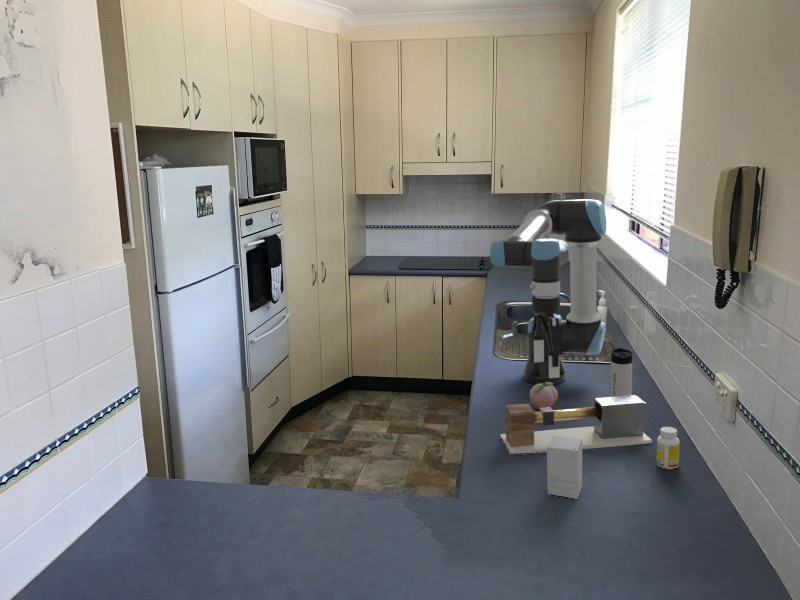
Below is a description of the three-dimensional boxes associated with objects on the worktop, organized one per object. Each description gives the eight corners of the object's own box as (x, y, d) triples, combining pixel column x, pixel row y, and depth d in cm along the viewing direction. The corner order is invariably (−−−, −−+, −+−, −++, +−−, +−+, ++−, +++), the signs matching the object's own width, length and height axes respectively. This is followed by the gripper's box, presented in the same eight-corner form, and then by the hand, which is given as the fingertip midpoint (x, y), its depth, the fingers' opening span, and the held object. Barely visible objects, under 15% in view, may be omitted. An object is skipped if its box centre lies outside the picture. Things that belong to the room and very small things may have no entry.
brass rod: (512, 423, 185) (511, 409, 184) (601, 415, 187) (601, 402, 186) (515, 428, 181) (515, 414, 181) (605, 420, 183) (606, 407, 183)
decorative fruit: (538, 403, 214) (538, 374, 212) (561, 408, 209) (561, 379, 207) (523, 412, 207) (523, 382, 205) (547, 418, 202) (546, 387, 200)
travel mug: (628, 407, 207) (629, 347, 203) (633, 416, 200) (634, 353, 196) (607, 408, 208) (608, 347, 203) (612, 416, 201) (613, 354, 197)
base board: (500, 437, 190) (500, 434, 190) (632, 426, 193) (632, 423, 193) (510, 455, 178) (510, 452, 178) (651, 443, 181) (651, 439, 181)
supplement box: (583, 486, 160) (583, 438, 158) (577, 500, 154) (578, 451, 151) (552, 481, 163) (552, 434, 161) (546, 495, 157) (546, 446, 154)
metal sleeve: (593, 430, 189) (594, 398, 187) (635, 427, 190) (636, 394, 188) (602, 439, 183) (602, 405, 181) (645, 435, 184) (646, 402, 182)
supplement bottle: (680, 463, 169) (682, 427, 167) (676, 471, 165) (677, 435, 163) (658, 458, 172) (660, 424, 170) (654, 467, 168) (655, 431, 166)
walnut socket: (506, 438, 187) (505, 405, 185) (528, 436, 188) (527, 403, 185) (511, 447, 181) (510, 413, 179) (534, 445, 182) (534, 411, 180)
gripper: (519, 287, 190) (521, 356, 195) (546, 307, 166) (547, 385, 171) (545, 285, 191) (545, 354, 195) (575, 304, 166) (575, 383, 171)
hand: (546, 369), depth 183 cm, fingers open, 13 cm apart
